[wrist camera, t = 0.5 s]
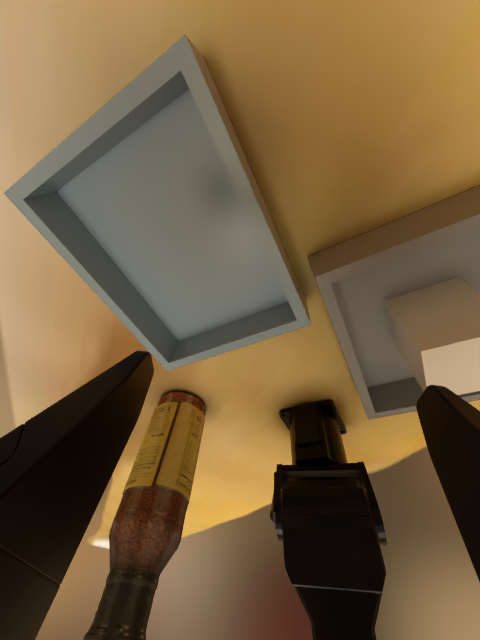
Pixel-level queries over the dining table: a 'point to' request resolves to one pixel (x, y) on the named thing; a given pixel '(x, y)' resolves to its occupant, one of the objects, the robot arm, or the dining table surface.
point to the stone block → (439, 334)
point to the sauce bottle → (150, 517)
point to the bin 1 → (167, 217)
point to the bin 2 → (395, 291)
